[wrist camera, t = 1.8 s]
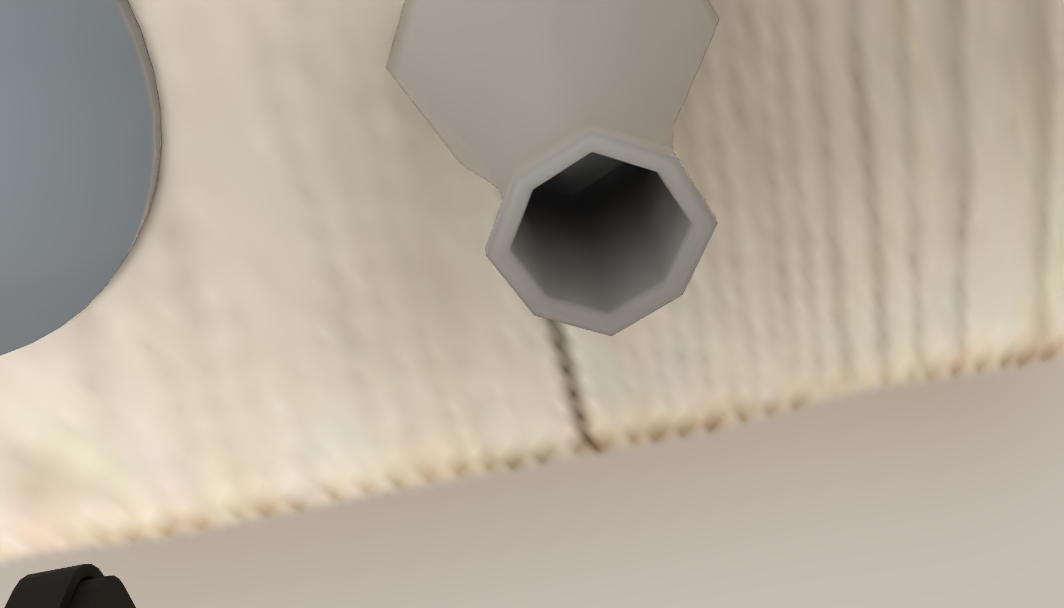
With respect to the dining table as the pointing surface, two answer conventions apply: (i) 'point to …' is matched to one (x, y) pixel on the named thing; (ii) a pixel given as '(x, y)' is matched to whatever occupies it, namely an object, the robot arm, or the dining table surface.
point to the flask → (570, 141)
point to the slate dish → (70, 156)
